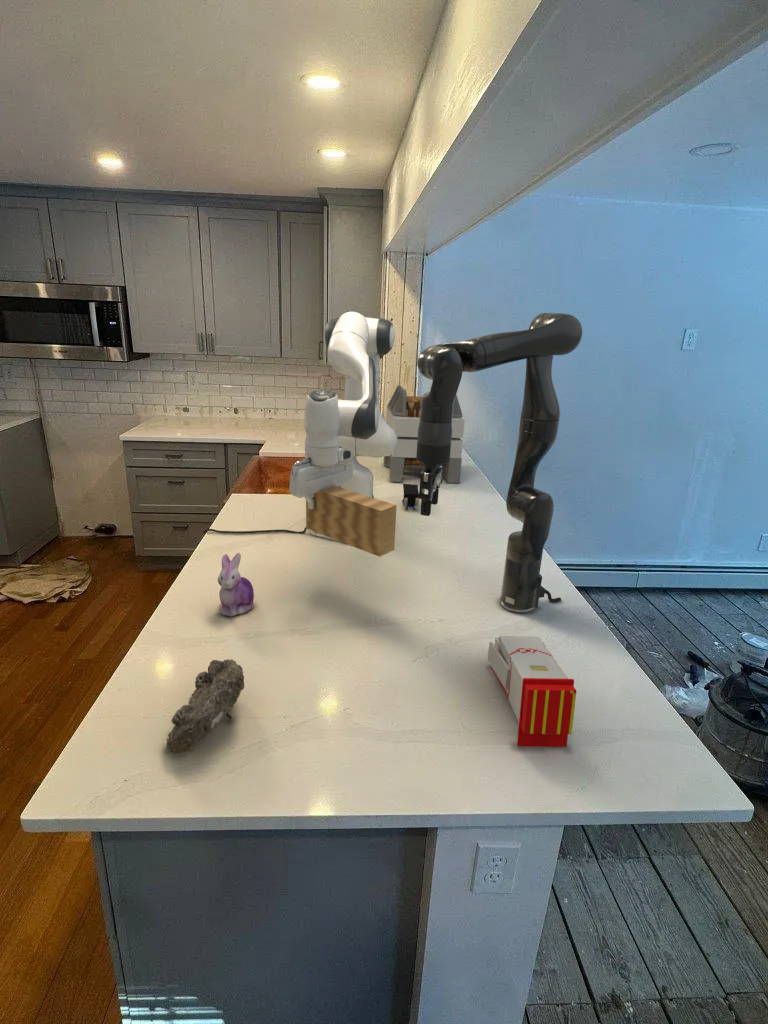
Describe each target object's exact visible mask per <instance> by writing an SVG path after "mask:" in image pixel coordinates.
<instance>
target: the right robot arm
mask: <svg viewBox="0 0 768 1024" xmlns="http://www.w3.org/2000/svg"><path fill="white" fill-rule="evenodd" d="M582 337H583V326H582V323H581V321H580V320H579V319H578V318H577V317H576V316H574V315H572V314H570V313H564V312H542V313H539V314H537V315H535V316H534V318H533V319H532V320H531V322H530V325H529V327H528V328H527V329H523V330H522V329H521V330H515V331H504V332H496V333H489V334H485V335H480V336H477V337H472V338H469V339H467V340H462V341H455V342H454V341H453V342H445V343H437V344H433V345H430V346H428V347H426V348H424V349H423V350H421V352H420V353H419V355H418V358H417V363H416V364H417V369H418V372H419V374H421V375H422V376H423V377H424V378H426V379H428V380H432V381H431V386H430V390H429V391H427V392H425V393H424V394H422V395H421V397H422V399H421V410H420V422H419V427H418V438H417V454H416V459H417V460H418V461H419V462H421V463H424V464H425V466H424V468H423V469H422V470H421V472H420V473H419V476H420V477H419V487H418V491H419V496H418V497H419V500H420V511H419V514H420V515H421V516H424V517H430V515H431V513H432V505H434V506H436V505H438V503H439V492H440V490H439V489H440V488H441V485H442V483H443V474H442V469H443V464H446V463H448V462H449V461H450V451H451V440H452V414H453V402H454V399H455V396H456V395H457V394H458V390H459V388H460V383H461V380H462V377H463V373H476V372H479V371H484V370H488V369H491V368H495V367H499V366H501V365H505V364H509V363H513V362H517V361H518V362H519V361H522V360H525V378H524V379H525V380H524V389H523V397H522V406H521V413H520V420H519V427H518V436H517V446H516V451H515V457H514V464H513V470H512V475H511V478H510V482H509V485H508V490H507V495H506V502H505V506H506V507H505V508H506V511H507V513H508V515H509V516H510V517H512V518H514V519H516V520H517V521H519V522H522V528H521V530H518V531H514V532H511V533H510V534H509V535H508V538H507V545H506V546H507V547H506V554H505V560H504V569H503V577H502V585H501V592H500V598H499V604H500V606H501V607H502V608H504V609H505V610H507V611H509V612H513V613H517V614H527V613H531V612H533V611H534V610H535V609H538V607H539V601H540V599H541V598H545V595H547V599H548V601H549V602H550V603H557V602H561V601H562V598H561V597H556V598H553V597H552V593H551V592H550V591H549V590H547V589H546V588H545V587H544V586H543V585H542V581H543V576H542V574H540V573H541V567H542V561H543V555H544V554H543V553H544V547H545V544H546V543H547V540H548V538H549V535H550V530H551V525H552V520H553V515H554V508H555V504H554V500H553V497H552V496H551V494H549V493H547V492H545V491H543V490H540V489H538V488H537V487H536V488H535V480H536V475H537V471H538V468H539V464H541V462H542V460H543V459H544V457H546V455H547V454H548V452H549V451H550V450H551V449H552V447H553V445H554V443H555V442H556V440H557V436H558V432H559V426H560V425H559V424H560V419H561V418H560V417H561V409H560V402H559V398H558V396H557V392H556V389H555V386H554V382H553V375H552V373H553V372H552V369H553V360H554V356H565V355H568V354H570V353H572V352H573V351H574V350H576V349H577V347H579V345H580V343H581V340H582ZM425 491H427V493H425Z"/></svg>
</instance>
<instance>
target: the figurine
mask: <svg viewBox="0 0 768 1024" xmlns="http://www.w3.org/2000/svg"><path fill="white" fill-rule="evenodd" d="M241 557H242V554H241V553H240V552H237V553H236V554H235V555H234V557H232V559H231V560H230V557H229V555H228V554H227V553H224V554H222V557H221V570H220V573H219V574H218V577H217V583H218V585H219V586H220V587H221V588H220V590H219V593H218V596H219V597H218V598H219V601H220V604H221V608H220V614H221V615H223V616H228V617H234V616H237V615H242V614H245V613H246V612H249V611H250V610H251V609H253V607H254V598H255V592H254V591H255V590H254V587H253V584H252V583H251V581H250V580H249V579H247V578H246V577H245V576H241V573H240V572H239V567H240V563H241V560H242V559H241Z"/></svg>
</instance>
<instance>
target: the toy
mask: <svg viewBox="0 0 768 1024" xmlns="http://www.w3.org/2000/svg"><path fill="white" fill-rule="evenodd" d="M488 643H489V644H488V651H487V658H486V659H487V662H488V664H489V666H490V668H491V669H492V672H493V674H494V675H495V677H496V679H497V681H498V682H499V684H500V687H501V688H502V691H503V692H504V694H505V697H507V699H508V702H509V705H510V706H511V709H512V710H513V713H514V714H515V717H516V720H517V721H518V728H517V729H518V730H517V741H516V746H517V747H520V748H521V747H522V748H523V747H525V748H527V747H529V748H531V747H532V748H533V747H534V748H545V747H546V748H567V747H568V740H569V735H572V733H573V725H574V716H575V708H576V700H577V689H576V687H575V686H574V685H575V679H574V678H569V677H568V676H567V675H566V673H565V672H564V670H563V669H562V668H561V667H560V665H559V663H558V662H557V661H556V659H555V658H554V656H553V654H552V653H551V652H550V650H549V649H548V648H547V646H546V644H545V642H544V641H543V640H542V639H541V638H540V636H534V635H533V636H532V635H530V636H527V635H526V636H525V635H524V636H523V635H498V637H497V636H496V637H494V643H493V641H489V642H488Z"/></svg>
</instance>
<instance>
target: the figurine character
mask: <svg viewBox="0 0 768 1024" xmlns="http://www.w3.org/2000/svg"><path fill="white" fill-rule="evenodd" d="M402 488H403V489H402V490H403V498H402V500H401V502H402V505H403V507H405V510H406V511H408V510H409V508H410V509H412V511H416V507H419V505H420V504H419V503H420V499H419V497H418V496H419V486H418V484H411V483H402Z"/></svg>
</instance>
